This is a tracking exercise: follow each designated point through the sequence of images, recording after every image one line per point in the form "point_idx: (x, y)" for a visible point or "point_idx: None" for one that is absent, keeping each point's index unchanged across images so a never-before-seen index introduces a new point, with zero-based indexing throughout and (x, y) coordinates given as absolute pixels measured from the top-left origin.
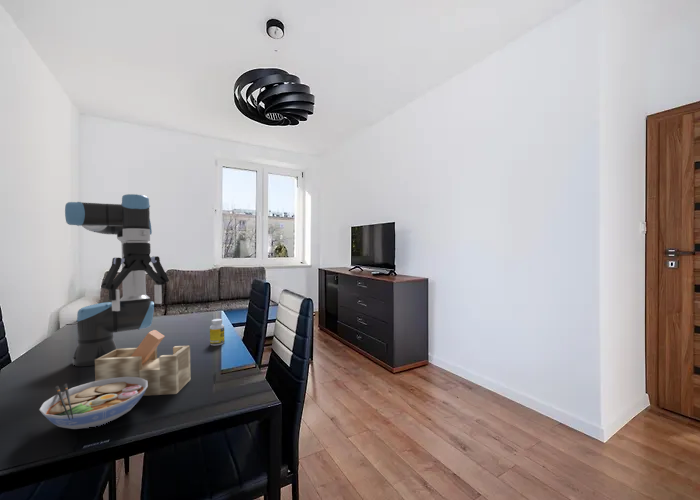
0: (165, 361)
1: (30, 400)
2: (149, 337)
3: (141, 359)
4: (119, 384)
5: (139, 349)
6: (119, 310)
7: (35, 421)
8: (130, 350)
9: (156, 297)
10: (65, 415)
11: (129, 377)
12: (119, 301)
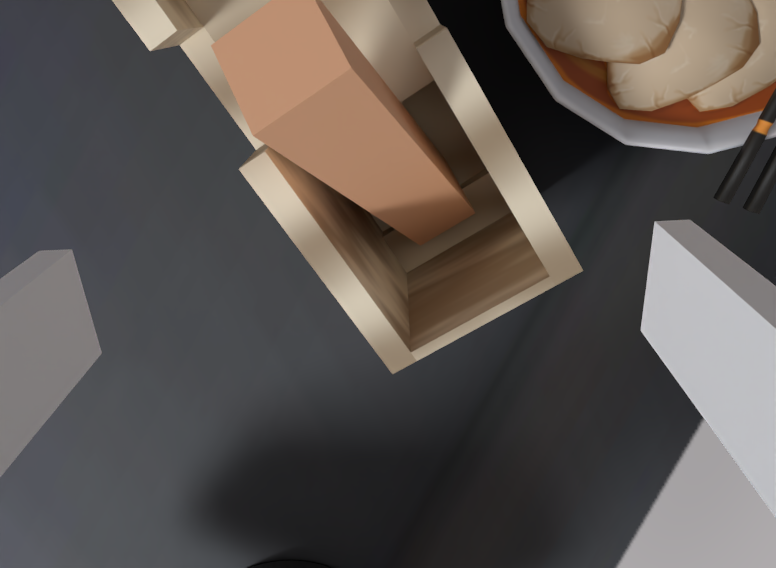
0: None
1: (635, 414)
2: (349, 56)
3: (420, 43)
4: (563, 3)
5: (398, 115)
6: (664, 222)
7: (749, 192)
8: (362, 282)
9: (44, 362)
10: None
11: (508, 6)
12: (719, 277)
